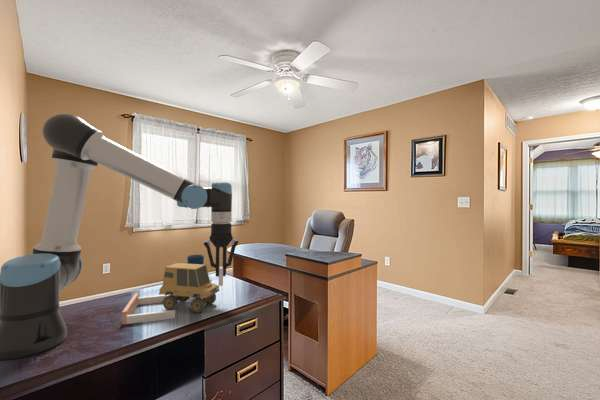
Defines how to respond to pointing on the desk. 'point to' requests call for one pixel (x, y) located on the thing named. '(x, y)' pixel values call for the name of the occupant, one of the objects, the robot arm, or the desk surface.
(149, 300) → the bay
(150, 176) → the robot arm
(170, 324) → the desk surface
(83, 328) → the desk surface
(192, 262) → the cup
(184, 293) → the toy car
